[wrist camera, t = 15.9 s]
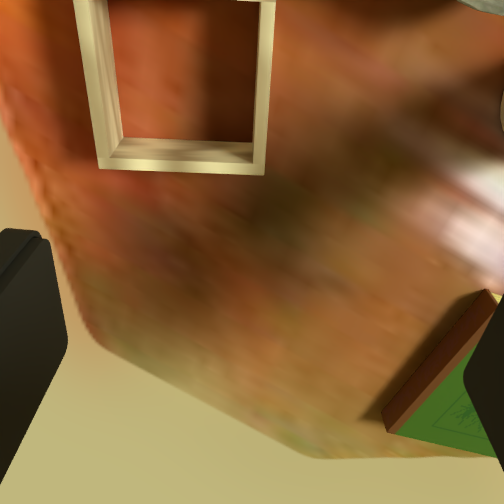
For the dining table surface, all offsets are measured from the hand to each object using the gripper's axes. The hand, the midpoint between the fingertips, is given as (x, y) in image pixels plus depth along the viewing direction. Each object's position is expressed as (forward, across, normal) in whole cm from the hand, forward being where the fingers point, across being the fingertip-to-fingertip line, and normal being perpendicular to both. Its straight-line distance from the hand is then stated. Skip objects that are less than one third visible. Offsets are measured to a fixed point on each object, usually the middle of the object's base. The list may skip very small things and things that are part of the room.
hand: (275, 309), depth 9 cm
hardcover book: (+35, -34, +38) cm, 62 cm away
